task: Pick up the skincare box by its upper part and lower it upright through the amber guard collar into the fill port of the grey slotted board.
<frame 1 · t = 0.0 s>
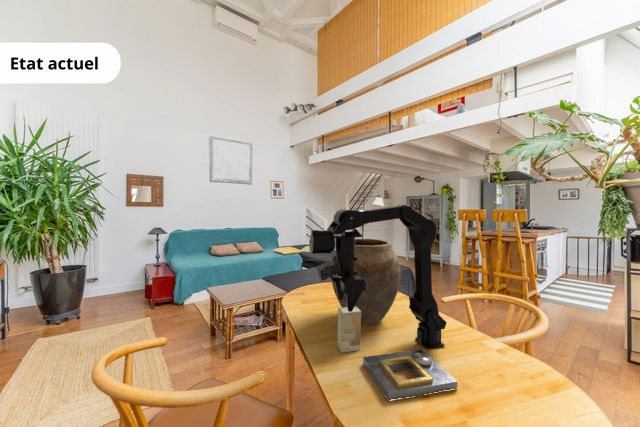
hand: (345, 305, 81), 15 cm above the table, tool pointing down, fingers open, 9 cm apart
grey slotted board: (406, 376, 72), on the table
skincare box: (349, 348, 85), on the table
vase: (364, 319, 107), on the table
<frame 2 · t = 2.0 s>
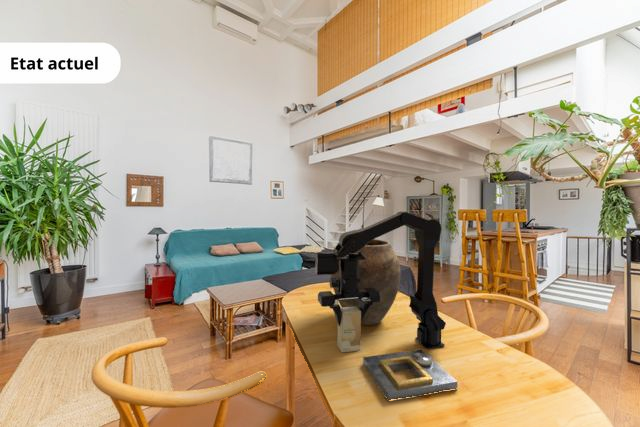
hand: (349, 324, 85), 8 cm above the table, tool pointing down, fingers closed on skincare box, 6 cm apart
skincare box: (349, 348, 85), on the table, touching gripper
everything else where it was.
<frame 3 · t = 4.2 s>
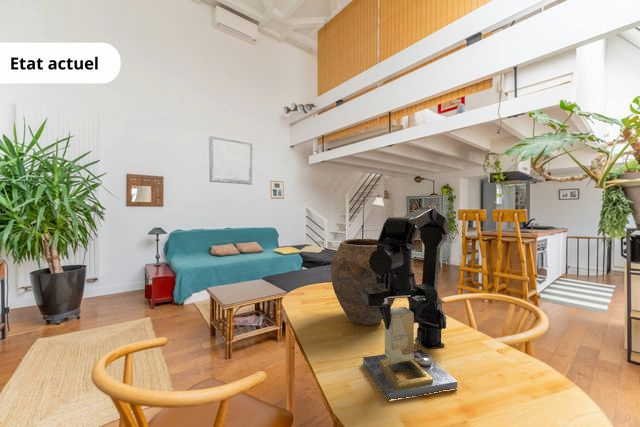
hand: (399, 327, 71), 13 cm above the table, tool pointing down, fingers closed on skincare box, 6 cm apart
skincare box: (399, 357, 71), point 5 cm above the table, touching gripper
everything else where it was.
when the fingers open (9 cm above the table, at t = 5.8 s): skincare box drops 1 cm, resting in grey slotted board.
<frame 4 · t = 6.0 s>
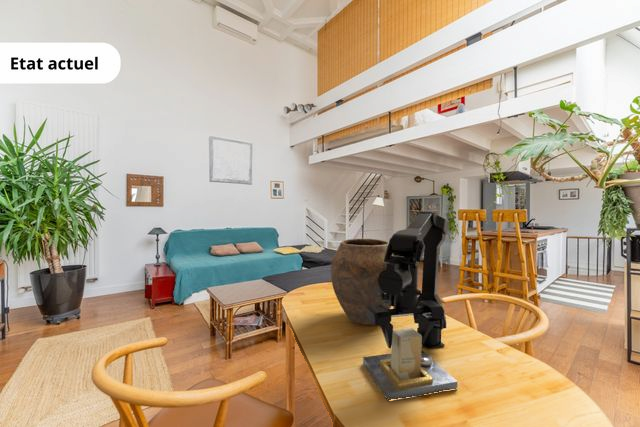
hand: (405, 345, 70), 9 cm above the table, tool pointing down, fingers open, 8 cm apart
skincare box: (405, 380, 70), resting in grey slotted board
everything else where it was.
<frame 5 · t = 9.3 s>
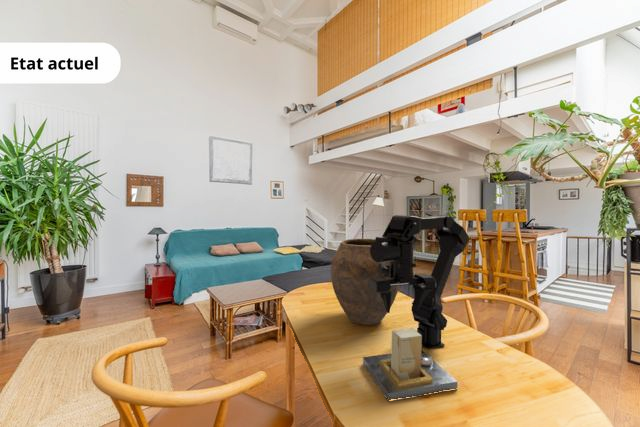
hand: (402, 311, 81), 13 cm above the table, tool pointing down, fingers open, 9 cm apart
nothing on the table moved.
at the end: skincare box 0.4 cm from the target spot on the grey slotted board, point 0.0 cm above the grey slotted board's base; skincare box tilted 0°; the gripper is holding nothing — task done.
